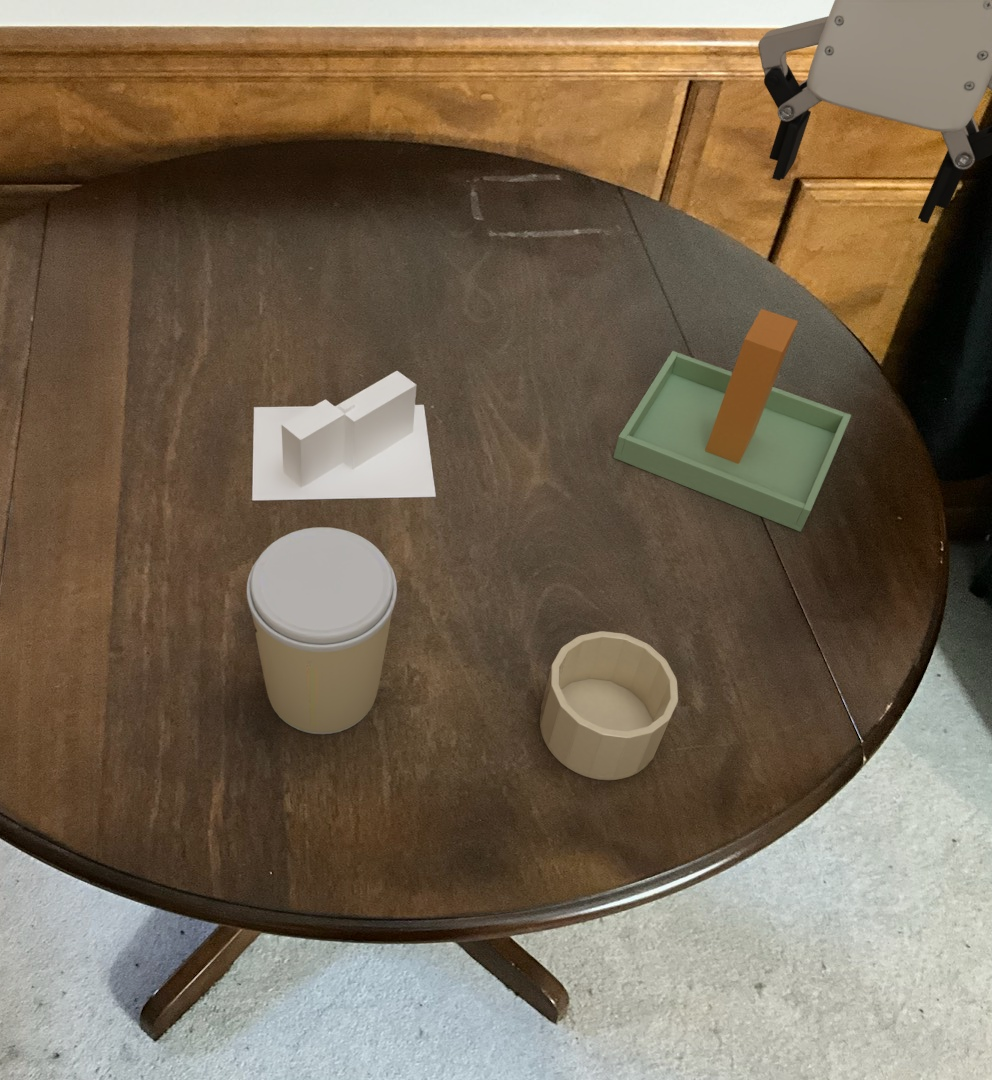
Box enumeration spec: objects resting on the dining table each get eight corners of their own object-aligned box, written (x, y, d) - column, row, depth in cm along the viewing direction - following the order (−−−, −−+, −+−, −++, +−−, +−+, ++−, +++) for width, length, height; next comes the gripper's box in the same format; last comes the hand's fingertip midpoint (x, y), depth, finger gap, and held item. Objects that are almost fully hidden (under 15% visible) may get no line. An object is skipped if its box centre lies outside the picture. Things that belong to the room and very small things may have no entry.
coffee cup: (311, 613, 82) (309, 501, 73) (415, 677, 79) (426, 568, 70) (227, 698, 77) (214, 589, 68) (335, 770, 73) (336, 666, 64)
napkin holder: (423, 403, 98) (427, 352, 94) (437, 496, 90) (443, 445, 86) (252, 407, 97) (248, 355, 92) (252, 502, 89) (248, 451, 85)
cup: (675, 709, 78) (695, 664, 74) (633, 801, 73) (651, 758, 69) (567, 660, 80) (580, 613, 76) (520, 745, 75) (531, 700, 71)
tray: (841, 436, 97) (851, 414, 95) (800, 532, 89) (810, 511, 87) (666, 371, 102) (672, 350, 100) (612, 457, 94) (618, 436, 92)
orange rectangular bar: (754, 432, 96) (798, 320, 87) (738, 464, 94) (782, 352, 85) (721, 420, 97) (761, 308, 88) (704, 451, 94) (744, 338, 85)
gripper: (1133, -74, 61) (996, 204, 74) (822, -136, 67) (744, 133, 79) (1120, -29, 57) (977, 258, 69) (787, -99, 62) (711, 180, 75)
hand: (853, 191), depth 74 cm, fingers open, 9 cm apart
